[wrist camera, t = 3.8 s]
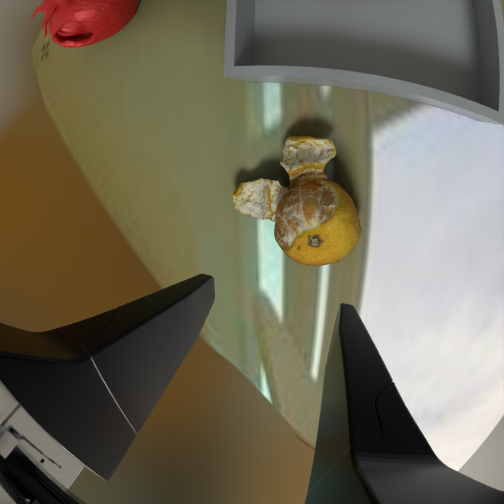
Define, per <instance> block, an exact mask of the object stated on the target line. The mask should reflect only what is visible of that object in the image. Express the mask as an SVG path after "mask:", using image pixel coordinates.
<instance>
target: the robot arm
mask: <svg viewBox="0 0 504 504" xmlns="http://www.w3.org/2000/svg"><path fill="white" fill-rule="evenodd" d="M214 299H215V288H214V278H213V277H212V276H210V275H206V274H199V275H197V276H194V277H192V278H189V279H187V280H184V281H182V282H179V283H177V284H174V285H172V286H169V287H167V288H164V289H162V290H159V291H157V292H154V293H152V294H149V295H147V296H145V297H142V298H139V299H137V300H134V301H132V302H129V303H127V304H124V305H122V306H119V307H117V308H116V309H112V310H109V311H107V312H104V313H102V314H99V315H96V316H94V317H91V318H88V319H85V320H82V321H79V322H76V323H72V324H69V325H66V326H62V327H59V328H56V329H53V330H49V331H45V332H31V331H27V330H23V329H20V328H16V327H13V326H10V325H6V324H3V323H0V504H86V503H85V502H84V501H82V500H81V499H80V498H79V497H77V496H76V495H75V494H73V493H72V492H71V491H70V490H68V488H69V487H70V486H71V484H72V483H73V482H74V480H75V479H76V477H77V476H78V475H79V473H80V472H81V471H82V469H83V468H84V466H85V467H87V468H88V469H89V470H91V471H92V472H94V473H95V474H96V475H98V476H99V477H101V478H102V479H104V480H105V481H107V482H108V481H109V480H110V478H111V477H112V475H113V473H114V472H115V470H116V469H117V467H118V465H119V464H120V462H121V461H122V459H123V457H124V456H125V454H126V453H127V451H128V449H129V448H130V446H131V444H132V443H133V441H134V440H135V438H136V436H137V434H138V433H139V431H140V429H141V428H142V426H143V425H144V423H145V422H146V420H147V418H148V417H149V415H150V413H151V412H152V410H153V408H154V407H155V405H156V404H157V402H158V400H159V399H160V397H161V396H162V394H163V392H164V391H165V389H166V388H167V386H168V384H169V383H170V381H171V379H172V378H173V376H174V375H175V373H176V371H177V370H178V368H179V366H180V365H181V363H182V362H183V360H184V358H185V357H186V355H187V354H188V352H189V350H190V349H191V347H192V346H193V344H194V342H195V341H196V339H197V337H198V335H199V333H200V331H201V329H202V327H203V324H204V322H205V320H206V318H207V316H208V314H209V311H210V309H211V307H212V305H213V303H214ZM392 381H393V380H392V378H391V376H390V374H389V372H388V370H387V368H386V366H385V364H384V362H383V360H382V358H381V356H380V354H379V352H378V350H377V348H376V346H375V344H374V342H373V341H372V339H371V337H370V335H369V333H368V331H367V329H366V327H365V326H364V324H363V322H362V320H361V318H360V316H359V315H358V313H357V311H356V309H355V307H354V306H353V305H350V304H345V303H341V304H340V306H339V310H338V314H337V317H336V321H335V325H334V329H333V334H332V339H331V344H330V349H329V354H328V358H327V363H326V368H325V375H324V384H323V394H322V402H321V411H320V418H319V426H318V433H317V440H316V446H315V453H314V459H313V465H312V470H311V476H310V481H309V487H308V492H307V493H308V494H307V496H306V501H305V504H504V492H503V491H500V490H497V489H494V488H492V487H490V486H487V485H485V484H483V483H481V482H478V481H476V480H474V479H472V478H470V477H468V476H466V475H464V474H461V473H459V472H457V471H455V470H453V469H451V468H449V467H448V466H446V465H445V464H444V463H443V462H442V461H441V460H440V459H439V458H438V457H437V456H436V454H435V453H434V451H433V450H432V448H431V447H430V445H429V443H428V442H427V440H426V438H425V437H424V435H423V433H422V432H421V430H420V429H419V427H418V425H417V424H416V422H415V421H414V419H413V417H412V415H411V414H410V412H409V410H408V409H407V407H406V405H405V403H404V401H403V399H402V398H401V396H400V394H399V392H398V390H397V388H396V386H395V384H394V382H392Z"/></svg>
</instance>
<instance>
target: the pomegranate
mask: <svg viewBox="0 0 504 504" xmlns="http://www.w3.org/2000/svg"><path fill="white" fill-rule="evenodd" d="M138 3H139V0H43V2H42V5H41V6H39V7H38V8H37V9H36V10H35V12H34V14H33V16H34V15H35V14H36V13H37V12H39V11H43V14H44V19H45V20H44V22H43V30H44V32H45V36H46V34H47V28H46V27H47V24H48V27H49V32H50V34H51V36H52V40H53V41H54V42H55V43H57V44H59V45H61V46H64V47H70V48H72V47H82V46H87V45H91V44H94V43H97V42H100V41H102V40H104V39H106V38H109V37H111V36H113V35H114V34H116V33H117V32H118V31H120V30H121V29H122V28H123V27H124V26H125V25H126V24H127V23H128V22H129V21H130V20H131V19H132V18H133V17H134V15H135V13H136V10H137V6H138ZM33 16H32V18H33ZM32 18H31V19H32ZM45 36H44V37H45Z"/></svg>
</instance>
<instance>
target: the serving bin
mask: <svg viewBox="0 0 504 504" xmlns="http://www.w3.org/2000/svg"><path fill="white" fill-rule="evenodd" d="M224 77H228V78H232V79H237V80H241V81H245V82H275V83H297V84H311V85H322V86H331V87H340V88H347V89H354V90H361V91H367V92H373V93H378V94H384V95H389V96H394V97H398V98H403V99H407V100H411V101H415V102H419V103H423V104H427V105H431V106H434V107H438V108H441V109H445V110H448V111H451V112H454V113H457V114H460V115H463V116H466V117H469V118H472V119H475V120H477V121H482V122H489V123H495V124H501V125H504V22H503V15H502V9H501V4H500V0H227V3H226V24H225V50H224Z"/></svg>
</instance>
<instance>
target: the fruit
mask: <svg viewBox="0 0 504 504" xmlns="http://www.w3.org/2000/svg"><path fill="white" fill-rule="evenodd" d="M282 151H283V159H282V161H280V162H281V163H280V164H281V165H282V166H283V167H284V168H285V170H286V171H287V172H288V174H289V180H290V185H289V186H288V187H283V186H281V185H280V184H279V181H272V180H269V179H262V178H260V179H258V180H254V181H249V182H246V183H241V184H239V187H238V188H237V189H236V190H235V192H234V193H233V195H232V196H233V202H234V206H235V208H236V209H237V210H238V211H239V212H241V213H242V214H244V215H248V216H250V217H253V218H257V219H270V220H271V221H274V222H275V229H274V236H275V239H276V241H277V243H278V245H279V246H280V248H281V249H282V250H283V251H284V253H285V254H286V255H287V256H288V257H290V258H291V259H293V260H294V261H296V262H298V263H300V264H305V265H311V266H321V265H326V264H332V263H335V262H340V260H341V259H343V258H344V257H345V256H347V255H348V254H349V253H350V252H351V251H352V250H353V249H354V247H355V245H356V243H357V242H358V240H359V238H360V236H361V233H362V229H361V226H360V220H359V218H358V211H357V209H356V207H355V205H354V202H353V200H352V198H351V196H349V194H348V193H347V192H346V191H345V190H344V189H343V188H342V187H341V186H340V185H339V184H338V183H336V182H333V181H329V179H328V178H327V176H326V174H325V173H324V167H325V165H326V163H327V162H328V161H329V160H330V159H331V158H334V157H335V156H336V147H335V145H334V143H333V142H332V141H331V140H329V139H327V138H323V139H319V138H314V137H311V136H292V137H288V139H287V140H286V143H285V147H284V148H283V150H282Z"/></svg>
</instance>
